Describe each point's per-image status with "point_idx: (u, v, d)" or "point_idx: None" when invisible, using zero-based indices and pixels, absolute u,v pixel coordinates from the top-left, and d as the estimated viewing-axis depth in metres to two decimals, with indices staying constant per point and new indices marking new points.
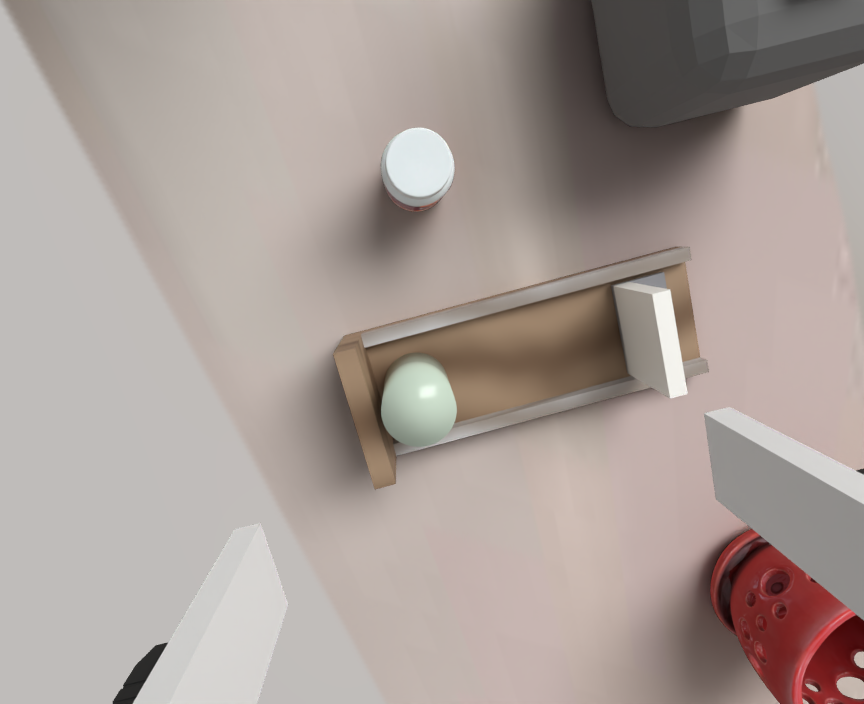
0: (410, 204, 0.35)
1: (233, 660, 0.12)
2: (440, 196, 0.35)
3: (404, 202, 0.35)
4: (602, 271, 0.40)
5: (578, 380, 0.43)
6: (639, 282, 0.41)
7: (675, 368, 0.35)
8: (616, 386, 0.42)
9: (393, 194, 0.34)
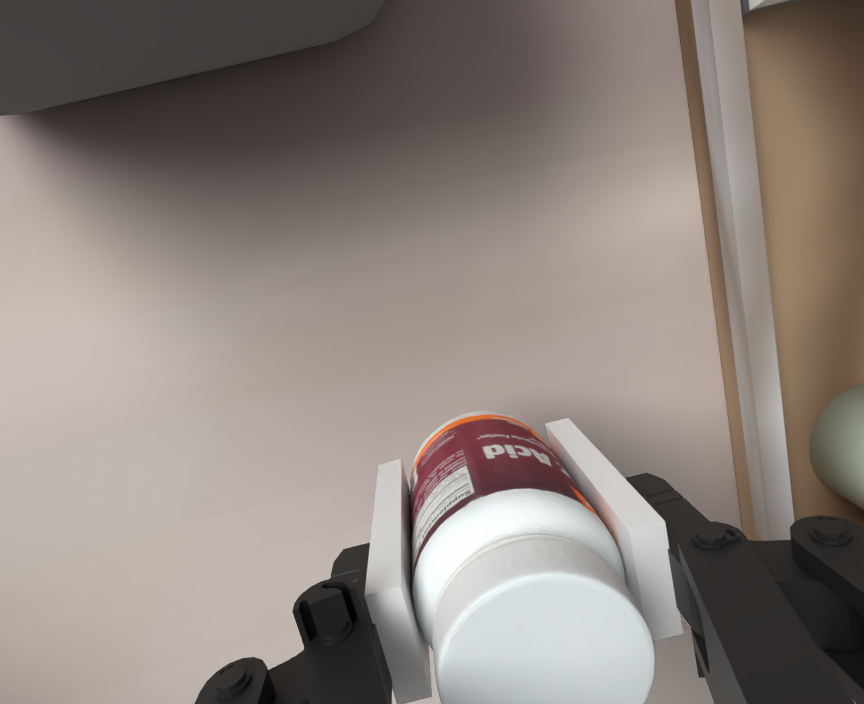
0: None
1: None
2: (606, 535, 0.12)
3: None
4: (715, 39, 0.17)
5: None
6: None
7: None
8: None
9: None
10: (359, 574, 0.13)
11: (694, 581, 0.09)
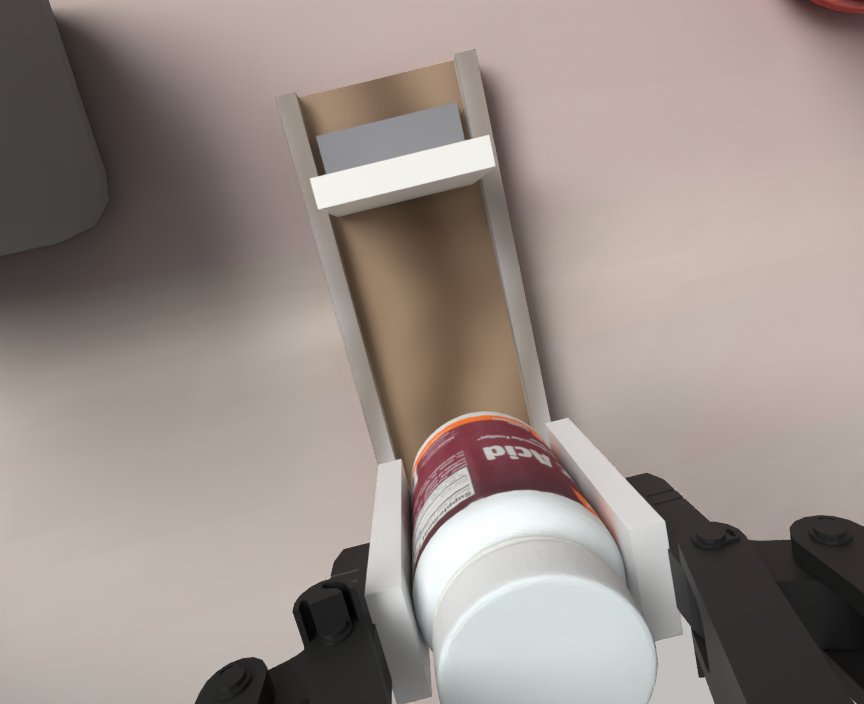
0: None
1: None
2: (607, 537, 0.11)
3: None
4: (315, 235, 0.27)
5: (480, 258, 0.29)
6: None
7: (443, 160, 0.21)
8: (490, 205, 0.28)
9: None
10: (359, 574, 0.13)
11: (694, 581, 0.09)
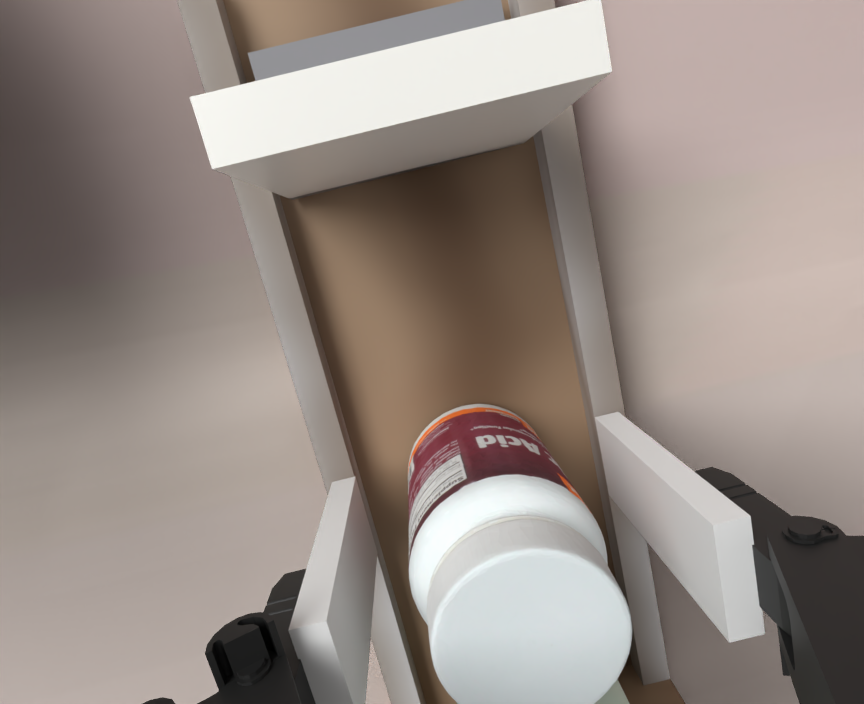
0: None
1: (355, 585, 0.13)
2: (590, 518, 0.12)
3: None
4: (250, 231, 0.16)
5: (533, 270, 0.17)
6: None
7: (495, 56, 0.09)
8: (556, 179, 0.16)
9: None
10: (295, 602, 0.12)
11: (783, 575, 0.09)
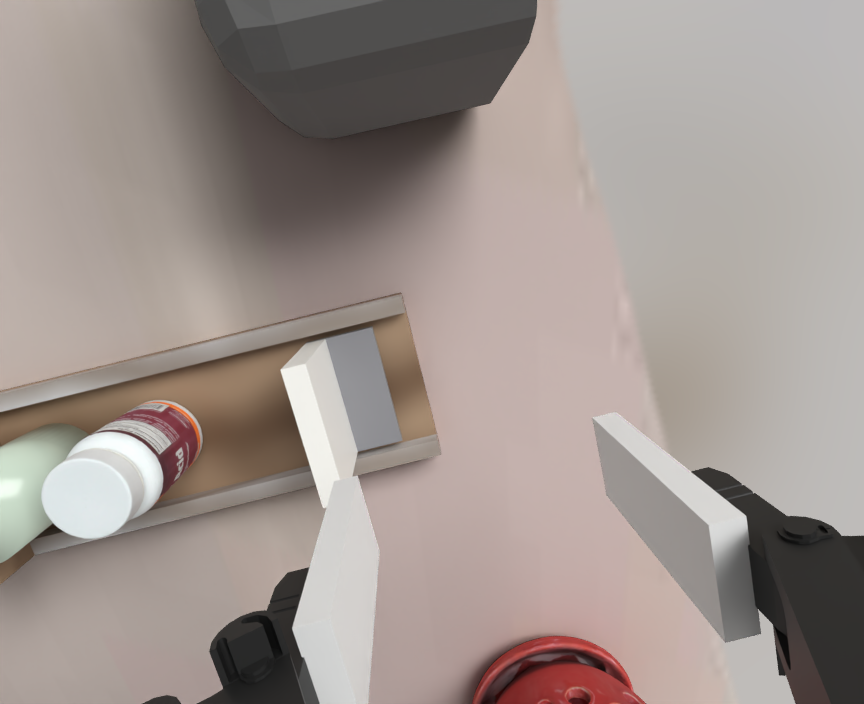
0: None
1: (358, 584, 0.13)
2: (143, 511, 0.27)
3: None
4: (287, 325, 0.31)
5: (278, 460, 0.33)
6: (340, 339, 0.31)
7: (325, 469, 0.26)
8: None
9: None
10: (298, 601, 0.12)
11: (778, 575, 0.09)
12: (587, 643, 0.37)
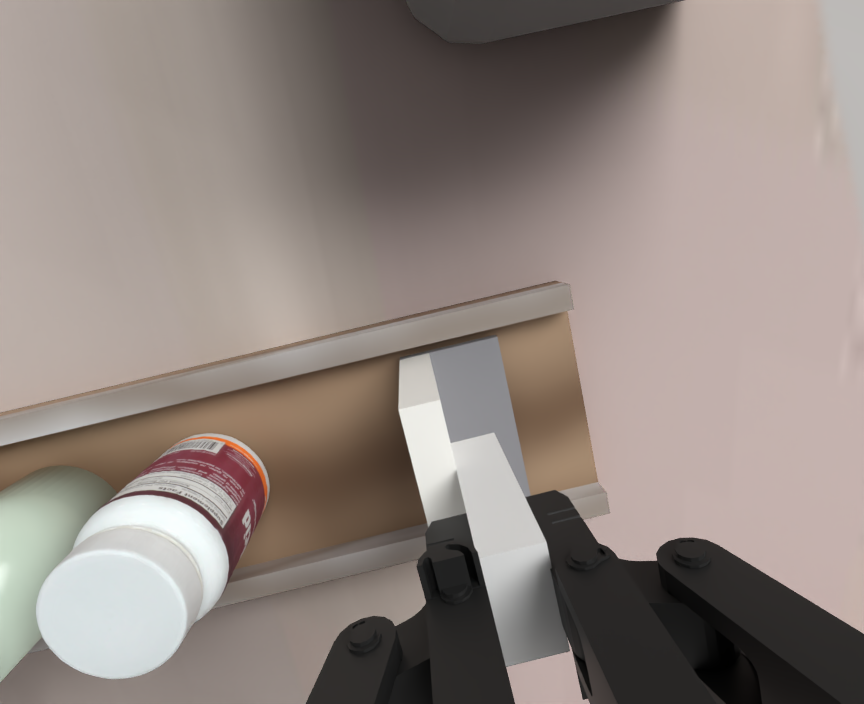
0: None
1: None
2: (198, 619, 0.17)
3: None
4: (401, 326, 0.21)
5: (374, 518, 0.24)
6: (450, 354, 0.21)
7: None
8: None
9: None
10: None
11: (572, 606, 0.09)
12: None
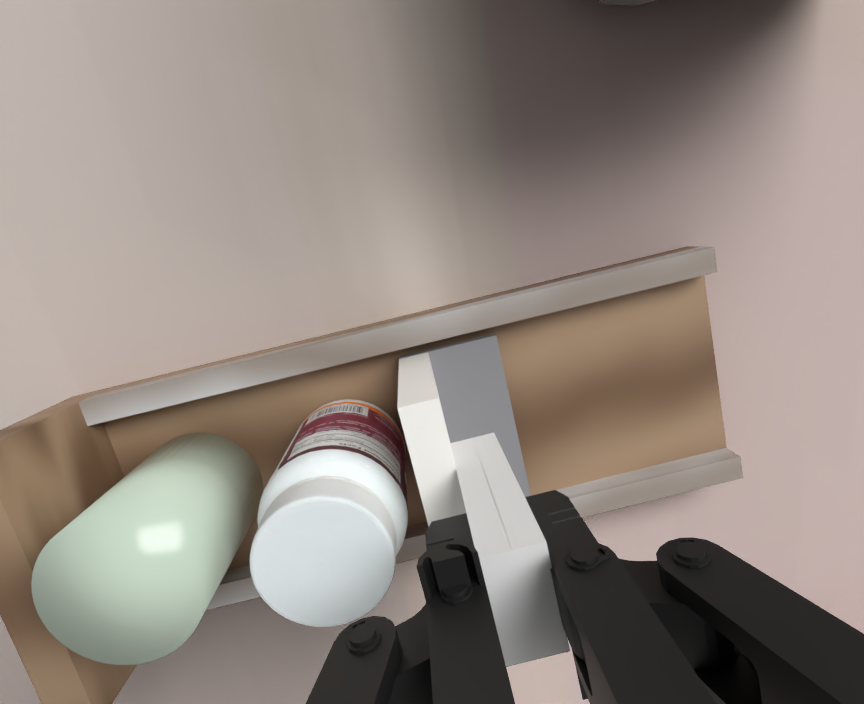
0: None
1: None
2: None
3: None
4: (546, 290, 0.21)
5: None
6: (449, 353, 0.21)
7: None
8: (572, 501, 0.23)
9: None
10: None
11: (572, 606, 0.09)
12: None
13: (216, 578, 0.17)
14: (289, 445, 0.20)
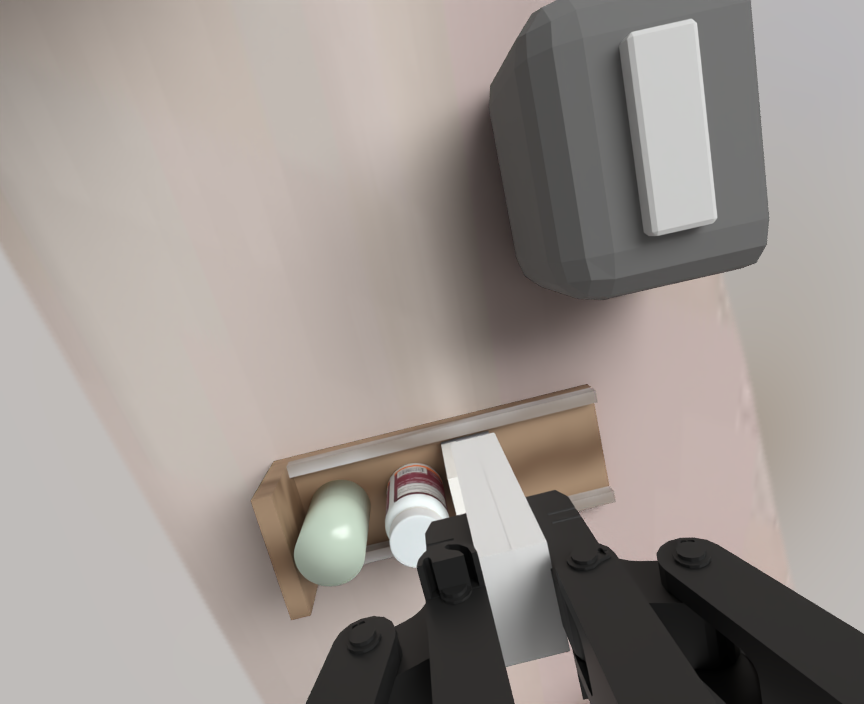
0: None
1: None
2: None
3: None
4: (513, 411, 0.43)
5: None
6: None
7: None
8: None
9: None
10: None
11: (572, 606, 0.09)
12: None
13: None
14: (391, 488, 0.42)
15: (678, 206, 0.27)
